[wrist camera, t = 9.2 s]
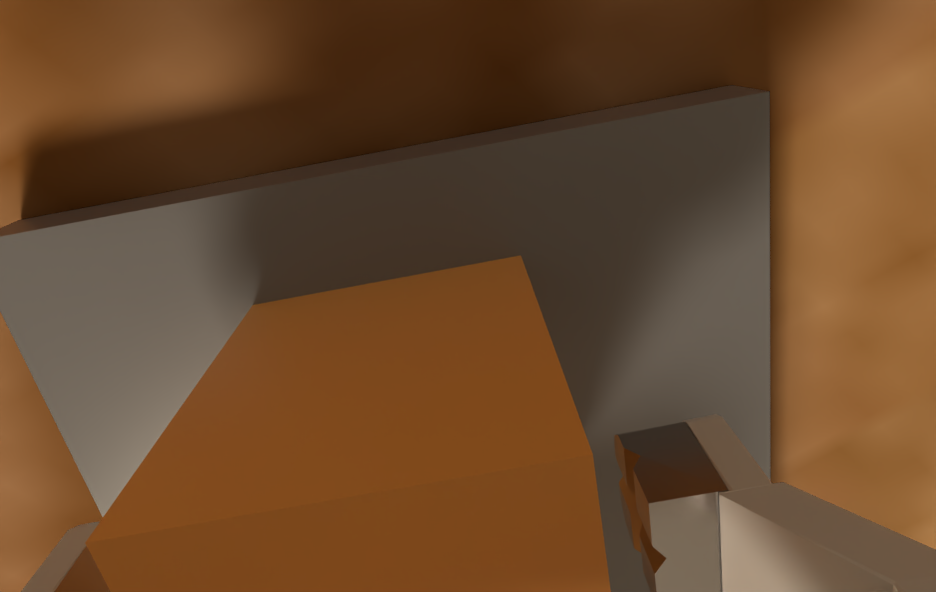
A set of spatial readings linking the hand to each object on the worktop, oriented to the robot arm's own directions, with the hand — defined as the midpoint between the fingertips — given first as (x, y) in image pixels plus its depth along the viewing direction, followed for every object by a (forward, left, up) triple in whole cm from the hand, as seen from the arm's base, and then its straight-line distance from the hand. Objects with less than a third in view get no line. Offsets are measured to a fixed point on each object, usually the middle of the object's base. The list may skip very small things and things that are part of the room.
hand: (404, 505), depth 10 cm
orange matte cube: (0, 0, -3) cm, 3 cm away
